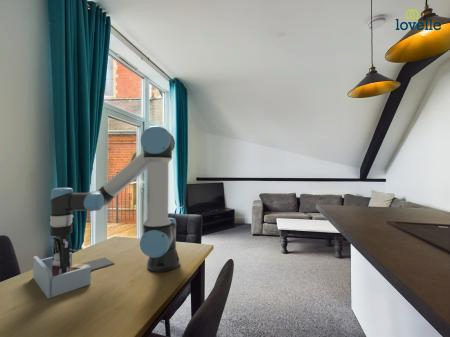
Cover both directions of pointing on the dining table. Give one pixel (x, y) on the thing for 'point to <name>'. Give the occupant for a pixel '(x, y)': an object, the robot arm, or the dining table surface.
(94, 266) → the mat
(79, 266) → the offcut top
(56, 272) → the pill bottle
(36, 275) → the open box
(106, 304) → the dining table surface
